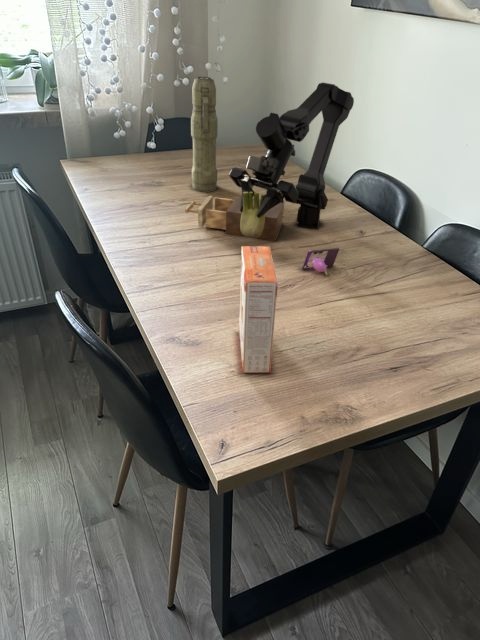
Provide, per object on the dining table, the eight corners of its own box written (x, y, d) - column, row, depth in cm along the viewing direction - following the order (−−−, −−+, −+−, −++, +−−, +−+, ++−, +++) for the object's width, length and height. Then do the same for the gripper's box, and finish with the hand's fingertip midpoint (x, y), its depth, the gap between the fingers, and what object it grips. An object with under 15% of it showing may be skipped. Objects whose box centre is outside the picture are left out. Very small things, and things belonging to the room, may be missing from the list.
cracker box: (237, 333, 110) (240, 244, 97) (264, 333, 111) (271, 245, 98) (240, 374, 99) (244, 280, 86) (270, 374, 99) (279, 280, 87)
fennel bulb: (265, 236, 135) (268, 192, 128) (255, 242, 132) (257, 197, 124) (247, 230, 137) (249, 186, 130) (237, 236, 134) (238, 191, 127)
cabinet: (225, 234, 151) (226, 211, 146) (235, 217, 161) (236, 196, 157) (275, 241, 149) (277, 218, 145) (282, 224, 159) (284, 202, 155)
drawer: (182, 224, 152) (182, 207, 149) (194, 210, 162) (194, 193, 158) (244, 233, 150) (245, 215, 147) (252, 218, 159) (253, 201, 156)
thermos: (195, 193, 175) (194, 81, 154) (189, 182, 184) (186, 74, 163) (220, 192, 178) (222, 81, 157) (213, 181, 187) (213, 74, 166)
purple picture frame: (338, 245, 133) (306, 248, 130) (345, 260, 131) (313, 263, 128) (331, 263, 139) (300, 266, 136) (337, 277, 136) (307, 281, 133)
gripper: (233, 134, 127) (206, 189, 126) (297, 150, 119) (268, 208, 118) (250, 159, 137) (225, 210, 136) (310, 175, 129) (283, 229, 128)
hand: (249, 214), depth 130 cm, fingers closed on fennel bulb, 5 cm apart
